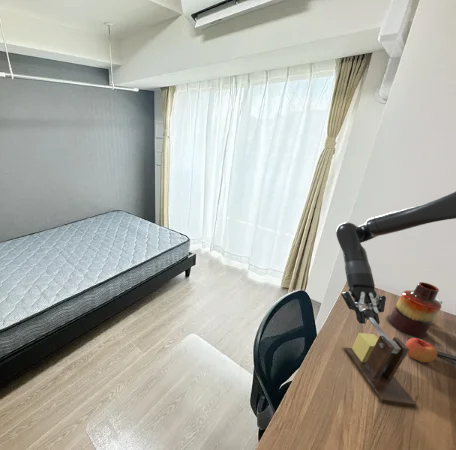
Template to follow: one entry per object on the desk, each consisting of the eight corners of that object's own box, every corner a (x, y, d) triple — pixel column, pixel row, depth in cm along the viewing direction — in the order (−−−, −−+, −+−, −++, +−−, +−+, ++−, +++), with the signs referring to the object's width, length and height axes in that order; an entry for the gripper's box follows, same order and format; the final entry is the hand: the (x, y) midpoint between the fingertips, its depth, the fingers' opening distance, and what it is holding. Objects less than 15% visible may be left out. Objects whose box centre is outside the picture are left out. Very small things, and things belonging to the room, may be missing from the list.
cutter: (344, 350, 88) (358, 318, 82) (370, 354, 87) (387, 322, 81) (380, 402, 71) (402, 367, 65) (414, 407, 70) (439, 372, 64)
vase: (427, 342, 93) (454, 299, 85) (389, 328, 98) (411, 287, 91) (421, 326, 101) (445, 285, 93) (386, 314, 106) (406, 274, 99)
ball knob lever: (356, 312, 87) (361, 305, 85) (367, 314, 86) (372, 307, 84) (385, 353, 74) (391, 346, 72) (398, 355, 73) (404, 348, 72)
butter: (366, 350, 86) (374, 334, 83) (377, 364, 81) (386, 347, 78) (351, 348, 87) (359, 332, 84) (361, 362, 82) (370, 345, 79)
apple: (432, 371, 81) (444, 354, 78) (403, 359, 85) (413, 342, 82) (427, 356, 87) (438, 340, 84) (400, 345, 91) (409, 329, 88)
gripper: (345, 270, 87) (354, 321, 80) (387, 274, 86) (401, 326, 79) (332, 274, 94) (339, 321, 87) (371, 278, 92) (382, 327, 86)
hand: (368, 323), depth 83 cm, fingers closed on ball knob lever, 3 cm apart
